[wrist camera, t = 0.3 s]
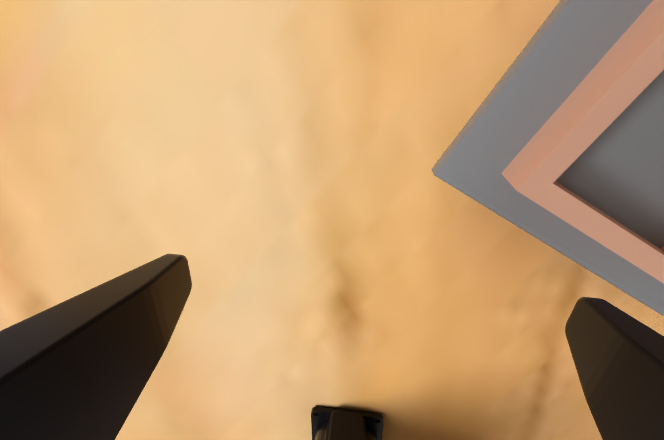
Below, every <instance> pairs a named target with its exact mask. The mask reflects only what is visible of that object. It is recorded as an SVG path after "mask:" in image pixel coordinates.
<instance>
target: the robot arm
mask: <svg viewBox="0 0 664 440" xmlns="http://www.w3.org/2000/svg"><path fill="white" fill-rule="evenodd" d="M191 287H192V282H191V276H190V271H189V266H188V261H187V258H186V257H185V256H183V255H177V254H166V255H164V256H162V257H160V258H157V259H155V260H153V261H151V262H149V263H147V264H144V265H142V266H140V267H138V268H136V269H134V270H131V271H129V272H127V273H125V274H123V275H121V276H118V277H116V278H114V279H112V280H110V281H108V282H105V283H103V284H101V285H99V286H97V287H95V288H92V289H90V290H88V291H86V292H84V293H82V294H79V295H77V296H75V297H73V298H71V299H69V300H66V301H64V302H62V303H60V304H58V305H56V306H53V307H51V308H49V309H47V310H45V311H43V312H40V313H38V314H36V315H34V316H32V317H30V318H27V319H25V320H23V321H21V322H19V323H17V324H14V325H12V326H10V327H8V328H6V329H4V330H2V331H0V440H115V438H116V436H117V435H118V433H119V431H120V429H121V428H122V426H123V424H124V422H125V420H126V419H127V417H128V415H129V413H130V412H131V410H132V408H133V406H134V404H135V403H136V401H137V399H138V397H139V396H140V394H141V392H142V390H143V388H144V387H145V385H146V383H147V381H148V380H149V378H150V376H151V374H152V372H153V371H154V369H155V367H156V365H157V364H158V362H159V360H160V358H161V356H162V355H163V353H164V351H165V349H166V347H167V345H168V343H169V341H170V338H171V336H172V334H173V331H174V329H175V327H176V324H177V322H178V320H179V317H180V315H181V313H182V310H183V308H184V306H185V303H186V301H187V299H188V296H189V294H190V291H191ZM565 332H566V337H567V340H568V344H569V347H570V350H571V353H572V357H573V360H574V363H575V366H576V370H577V373H578V376H579V379H580V383H581V386H582V389H583V392H584V395H585V398H586V401H587V403H588V406H589V408H590V411H591V413H592V416H593V418H594V420H595V423H596V425H597V427H598V430H599V432H600V434H601V437H602V439H603V440H664V336H662V335H661V334H659V333H657V332H656V331H654V330H652V329H651V328H649V327H647V326H646V325H644V324H643V323H641V322H639V321H638V320H636V319H634V318H633V317H631V316H630V315H628V314H626V313H625V312H623V311H621V310H620V309H618V308H617V307H615V306H613V305H612V304H610V303H608V302H607V301H605V300H603V299H599V298H589V297H582V298H580V299H579V300H578V301H577V303H576V305H575V307H574V309H573V311H572V313H571V315H570V317H569V319H568V321H567V323H566V327H565ZM311 422H312V440H382V430H383V416H382V415H381V414H379V413H370V412H360V411H351V410H342V409H332V408H323V407H313V408H312V412H311Z"/></svg>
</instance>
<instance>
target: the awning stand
mask: <svg viewBox="0 0 664 440" xmlns="http://www.w3.org/2000/svg"><path fill="white" fill-rule="evenodd" d="M432 171H433V174H434V175H435V176H436V177H438V178H440V179H441V180H443V181H445V182H446V183H448V184H449V185H451V186H453V187H454V188H456V189H458V190H459V191H461V192H462V193H464V194H466V195H467V196H469V197H471V198H472V199H474V200H475V201H477V202H479V203H480V204H482V205H484V206H485V207H487V208H488V209H490V210H492V211H493V212H495V213H497V214H498V215H500V216H501V217H503V218H505V219H506V220H508V221H510V222H511V223H513V224H515V225H516V226H518V227H519V228H521V229H523V230H524V231H526V232H528V233H529V234H531V235H532V236H534V237H536V238H537V239H539V240H541V241H542V242H544V243H545V244H547V245H549V246H550V247H552V248H554V249H555V250H557V251H558V252H560V253H562V254H563V255H565V256H567V257H568V258H570V259H571V260H573V261H575V262H576V263H578V264H580V265H581V266H583V267H584V268H586V269H588V270H589V271H591V272H593V273H594V274H596V275H598V276H599V277H601V278H602V279H604V280H606V281H607V282H609V283H611V284H612V285H614V286H615V287H617V288H619V289H620V290H622V291H624V292H625V293H627V294H628V295H630V296H632V297H633V298H635V299H637V300H638V301H640V302H641V303H643V304H645V305H646V306H648V307H650V308H651V309H653V310H654V311H656V312H658V313H659V314H661V315H664V0H561V1H560V2H559V4H558V5H557V6H556V8H555V9H554V10H553V12H552V13H551V14H550V16H549V17H548V18H547V19H546V21H545V22H544V23H543V25H542V26H541V27H540V29H539V30H538V31H537V33H536V34H535V35H534V36H533V38H532V39H531V40H530V42H529V43H528V44H527V46H526V47H525V48H524V49H523V51H522V52H521V53H520V55H519V56H518V57H517V59H516V60H515V61H514V63H513V64H512V65H511V66H510V68H509V69H508V70H507V72H506V73H505V74H504V76H503V77H502V78H501V80H500V81H499V82H498V83H497V85H496V86H495V87H494V89H493V90H492V91H491V93H490V94H489V95H488V96H487V98H486V99H485V100H484V102H483V103H482V104H481V106H480V107H479V108H478V110H477V111H476V112H475V113H474V115H473V116H472V117H471V119H470V120H469V121H468V123H467V124H466V125H465V127H464V128H463V129H462V130H461V132H460V133H459V134H458V136H457V137H456V138H455V140H454V141H453V142H452V143H451V145H450V146H449V147H448V149H447V150H446V151H445V153H444V154H443V155H442V157H441V158H440V159H439V160H438V162H437V163H436V164H435V166H434V167H433V168H432Z"/></svg>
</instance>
